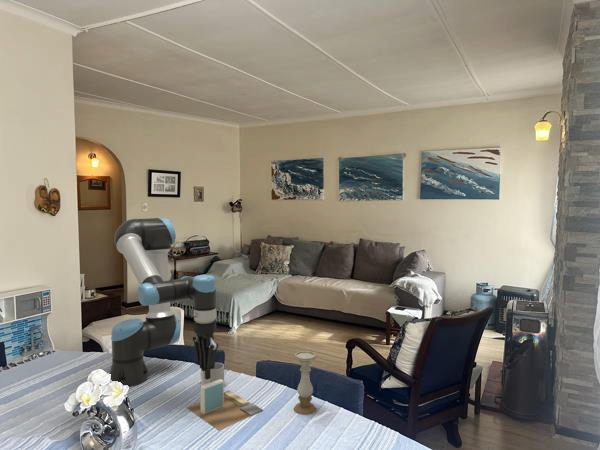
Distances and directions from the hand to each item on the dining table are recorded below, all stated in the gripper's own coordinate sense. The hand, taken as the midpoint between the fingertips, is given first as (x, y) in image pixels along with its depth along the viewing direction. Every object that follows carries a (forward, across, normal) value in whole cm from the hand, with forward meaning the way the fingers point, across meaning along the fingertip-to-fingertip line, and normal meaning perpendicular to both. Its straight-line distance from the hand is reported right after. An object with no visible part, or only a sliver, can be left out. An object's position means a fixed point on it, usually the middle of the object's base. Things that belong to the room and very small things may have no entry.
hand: (205, 386), depth 149 cm
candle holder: (+8, +26, +23) cm, 36 cm away
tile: (+7, +4, 0) cm, 8 cm away
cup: (+8, -12, +10) cm, 18 cm away
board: (+8, +7, +3) cm, 11 cm away
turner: (+7, +7, +9) cm, 13 cm away
